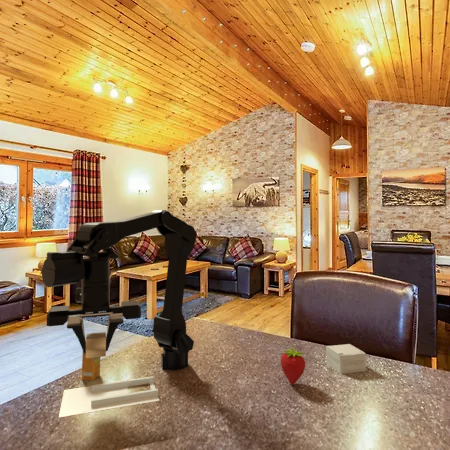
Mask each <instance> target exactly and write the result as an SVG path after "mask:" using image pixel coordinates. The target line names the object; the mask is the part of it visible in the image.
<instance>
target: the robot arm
mask: <svg viewBox="0 0 450 450" xmlns="http://www.w3.org/2000/svg"><path fill="white" fill-rule="evenodd" d="M153 229H156V230H157V232H158V234H160V235H161V236H162V237H163V238H164V246H165V249H166V252H167V254H168V264H167V272H166V273H167V274H166V281H165V289H164V290H165V291H164V299H163V300H164V301H163V307H162V311H161V312H160V314H159V315H158V316H156V315H155V316H154V317H153V327H152V329H151V333H153V338H154V339H155V341H156V342H157V345H158V348H162V353H161V354H160V367H161V370H165V371H167V370H169V371H179V370H183V369H185V368H188V367H189V353H190V351H192V350H193V348H194V344H195V340H193V338H191V337H190V336H189V335H188V334H187V322H186V319H185V317H184V315H183V303H184V293H185V284H186V275H187V267H188V266H187V264H188V258H189V256H190V255H191V254H192V252H193V250H194V249H195V246H196V245H195V244H196V241H197V235H198V234H197V230H196V229H195V228H194V226H192V225H191V224H188V223H187V222H186V221H184V220H182V219H180V218H178V217H176V216H175V215H173V213H171V212H170V211H168V210H166V209H165V210H164V209H163V210H158V209H157V210H153V211H150V212H147V213H144V214H139V215H135V216H131V217H129V218H128V217H127V218H124V219H120V220H117V221H99V222H97V221H96V222H86V223H83V224H81V225H80V226H79V229H78V230H77V234H76V237H75V238H74V240H73V241H72V243H71V244H70V245H69V247H68V248H67V249H66V251H62V252H60V251H58V252H56V251H50V252H49V251H48V252H47V253H46V259H44V262H43V265H42V267H41V278H42V282H43V284H44V285H45V287H46V288H53V287H61V286H68V285H74V284H78V283H80V281H81V287H76V289H75V302H76V303H78V304H79V303H81V308H80V309H79V308H77V309H70V305H60V306H59V305H58V306H57V305H55V306H52V307H50V309H49V310H48V312H47V314H46V326H47V327H54V326H55V327H56V326H57V327H58V326H64V325H65V324H66V323H67V325H66V328H67V329H71V330H72V331H73V333H74V334H75V336H76V338H77V340H78V342H79V344H80V347H81V349H82V353H83V352H84V354H86V332H85V326H84V325H85V324H84V319H86V318H99V317H108V318H107V319H108V320H107V329H106V352H109V351H108V350H109V347H110V346H111V342H112V339H113V337H114V334H115V333H116V331H117V328H118V326H119V325H122V324H123V323H124V319H125V320H134V319H135V320H137V319H141V318H142V307H141V304H140V302H138V300H129V301H128V300H126V301H121V302H120V305H118V306H117V305H116V306H110V305H111V303H110V302H111V301H110V299H111V298H110V291H111V288H110V285H111V283H110V282H111V281H110V280H111V279H110V276H111V275H110V273H111V271H110V260H112V259H118V258H119V254H117V253H116V252H115V251H114V250H113V248H111V247H114V246H115V245H117V244H119V243H120V242H121V241H122V240H123V239H125V238H127V237H130V236H133V235H137V234H140V233H144V232H147V231H150V230H153Z"/></svg>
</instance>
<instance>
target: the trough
mask: <svg viewBox="0 0 450 450" xmlns="http://www.w3.org/2000/svg"><path fill="white" fill-rule="evenodd" d="M154 381H155V380H154V376H153V375H151V376H145V377H139V378H132V379H123V380H118V381H111V382H110V381H109V382H104V383H97V384H91V385H90V386H89V385H87V386H84V387H76V388H70V389H69V388H68V389H64V390H63V394H62V398H61V405H60V408H59V415H58V418H65V417H71V416H77V415H83V414H89V413H94V412H101V411H107V410H113V409H114V410H115V409H118V408H125V407H131V406H134V405H135V406H136V405H142V404H147V403H148V404H149V403H155V402H160V398H159V389H158V388H156V386H155V383H154ZM147 384H149V387H150V389H149V390H148V389H146V390H142V391H134V392H130V391H129V387H134V386H140V385H147Z"/></svg>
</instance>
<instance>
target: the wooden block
mask: <svg viewBox="0 0 450 450" xmlns="http://www.w3.org/2000/svg"><path fill="white" fill-rule="evenodd" d="M106 335H107V331H102V332H92V333H89V332H88V333H86V334H85V339H86V358H94V357H100V358H101V357H104V358H105V357H107V356H106V355H107V351H106Z"/></svg>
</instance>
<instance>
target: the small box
mask: <svg viewBox="0 0 450 450" xmlns="http://www.w3.org/2000/svg"><path fill="white" fill-rule="evenodd" d="M325 351H326V354H325V356H326V359H325V361H326V364H327V365H328V366H330V367H331V368H333V369H334V370H335V371H336V372H338V373H339V374H343V375H344V374H351V373H361V372H366V371H367V370H366V369H367V366H366V365H367V364H366V363H367V353H366V352H364V351H363V350H361V349H359V348H358V347H355V346H354V345H352V344H351V343H346V344H337V345H336V344H335V345H327V346H326V349H325Z"/></svg>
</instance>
